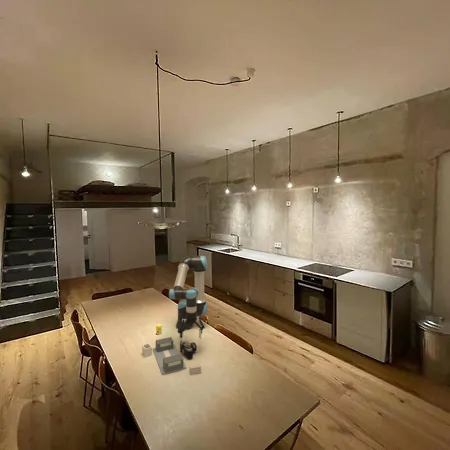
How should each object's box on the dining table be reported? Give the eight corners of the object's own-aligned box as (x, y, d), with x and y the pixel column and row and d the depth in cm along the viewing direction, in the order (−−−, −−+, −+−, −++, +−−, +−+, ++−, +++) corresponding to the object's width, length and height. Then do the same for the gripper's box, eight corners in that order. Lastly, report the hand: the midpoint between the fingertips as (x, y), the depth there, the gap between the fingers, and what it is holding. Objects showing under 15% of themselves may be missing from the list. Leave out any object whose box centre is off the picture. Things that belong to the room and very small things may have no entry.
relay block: (148, 351, 197) (148, 342, 196) (152, 355, 192) (152, 346, 192) (142, 354, 194) (142, 345, 193) (145, 357, 189) (145, 348, 189)
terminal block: (199, 369, 175) (199, 363, 174) (200, 373, 171) (200, 366, 171) (189, 371, 173) (189, 364, 172) (190, 375, 169) (190, 368, 169)
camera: (200, 356, 190) (200, 343, 190) (187, 361, 185) (187, 347, 184) (190, 347, 203) (190, 334, 203) (178, 351, 198) (178, 338, 197)
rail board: (173, 345, 206) (173, 336, 206) (186, 368, 175) (186, 358, 175) (152, 349, 199) (152, 340, 199) (162, 375, 168) (162, 364, 168)
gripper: (205, 307, 202) (205, 334, 202) (173, 312, 191) (173, 341, 192) (209, 310, 195) (209, 338, 196) (175, 315, 184) (176, 345, 185)
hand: (191, 340), depth 194 cm, fingers open, 13 cm apart
